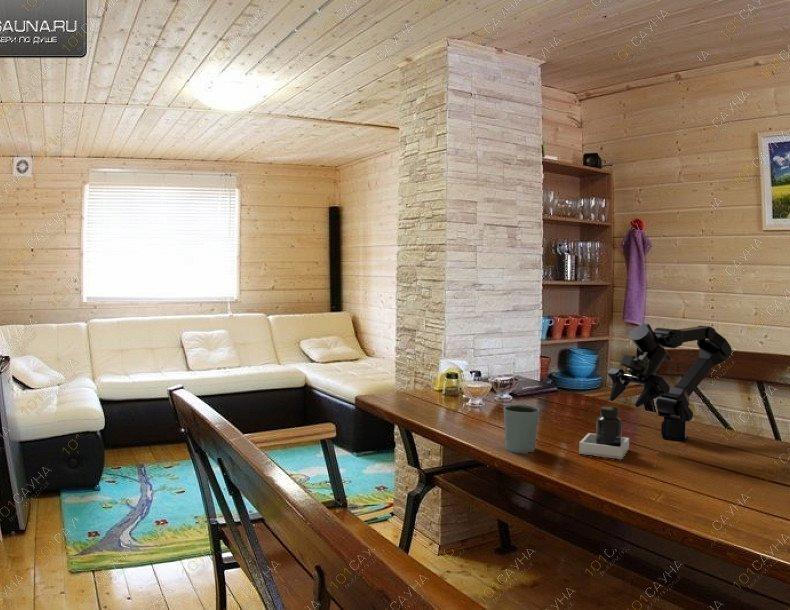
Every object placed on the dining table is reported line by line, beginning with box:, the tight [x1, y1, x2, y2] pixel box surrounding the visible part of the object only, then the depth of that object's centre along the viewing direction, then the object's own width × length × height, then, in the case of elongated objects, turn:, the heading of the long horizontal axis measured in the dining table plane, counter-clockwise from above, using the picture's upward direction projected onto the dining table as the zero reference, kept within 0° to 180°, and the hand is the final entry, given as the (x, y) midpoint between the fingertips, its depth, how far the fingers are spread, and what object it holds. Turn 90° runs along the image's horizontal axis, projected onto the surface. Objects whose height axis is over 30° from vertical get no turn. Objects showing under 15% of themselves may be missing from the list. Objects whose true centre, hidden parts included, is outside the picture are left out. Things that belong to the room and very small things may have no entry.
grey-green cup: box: [503, 404, 540, 454], centre depth 194 cm, size 10×10×12 cm
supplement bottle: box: [595, 406, 623, 447], centre depth 190 cm, size 7×7×12 cm
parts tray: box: [578, 432, 630, 460], centre depth 191 cm, size 12×12×4 cm
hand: (623, 403), depth 194 cm, fingers open, 9 cm apart
